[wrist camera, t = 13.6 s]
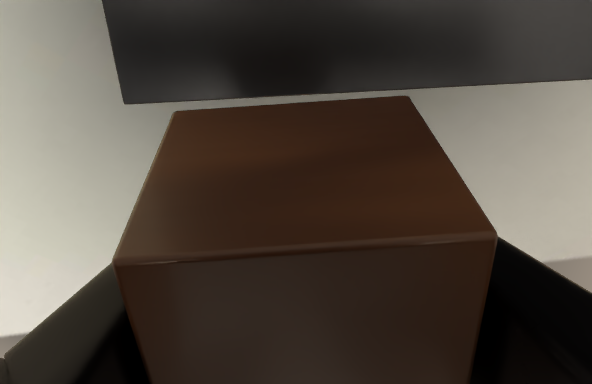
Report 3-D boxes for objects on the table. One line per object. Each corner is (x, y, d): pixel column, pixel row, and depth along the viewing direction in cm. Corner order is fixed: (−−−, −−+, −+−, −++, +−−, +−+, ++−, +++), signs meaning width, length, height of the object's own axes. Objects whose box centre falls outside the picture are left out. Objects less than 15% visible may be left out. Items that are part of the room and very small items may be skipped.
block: (409, 93, 9) (503, 233, 5) (397, 274, 11) (457, 460, 7) (172, 109, 8) (106, 262, 5) (207, 288, 11) (177, 480, 7)
